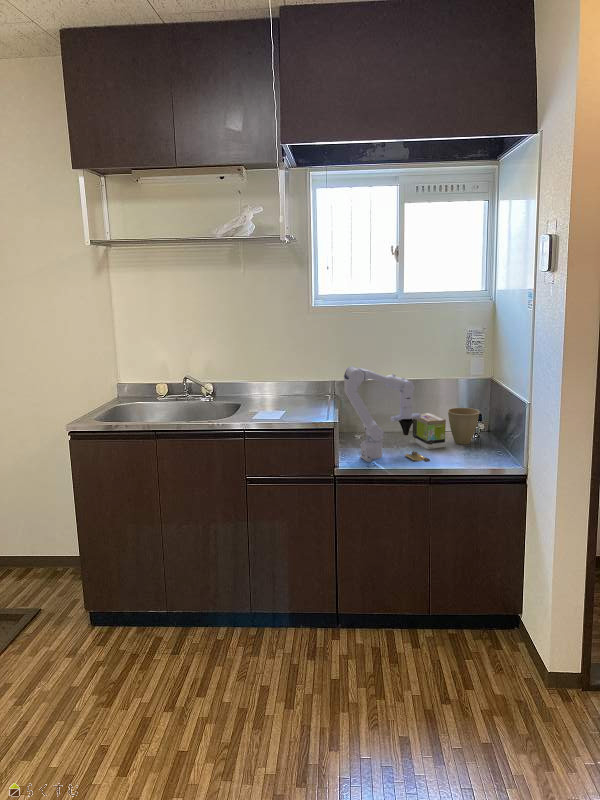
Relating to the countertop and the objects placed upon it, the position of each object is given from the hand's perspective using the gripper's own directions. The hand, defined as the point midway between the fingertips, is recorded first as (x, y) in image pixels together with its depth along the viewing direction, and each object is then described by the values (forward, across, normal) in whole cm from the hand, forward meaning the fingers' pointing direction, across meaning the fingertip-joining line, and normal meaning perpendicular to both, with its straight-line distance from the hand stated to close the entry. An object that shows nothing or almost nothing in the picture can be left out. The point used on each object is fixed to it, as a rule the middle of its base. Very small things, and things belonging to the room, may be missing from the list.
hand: (405, 434), depth 279 cm
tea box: (+10, +17, +8) cm, 21 cm away
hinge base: (+10, +7, -9) cm, 15 cm away
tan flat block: (+9, 0, -9) cm, 12 cm away
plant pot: (+10, +35, +6) cm, 37 cm away
